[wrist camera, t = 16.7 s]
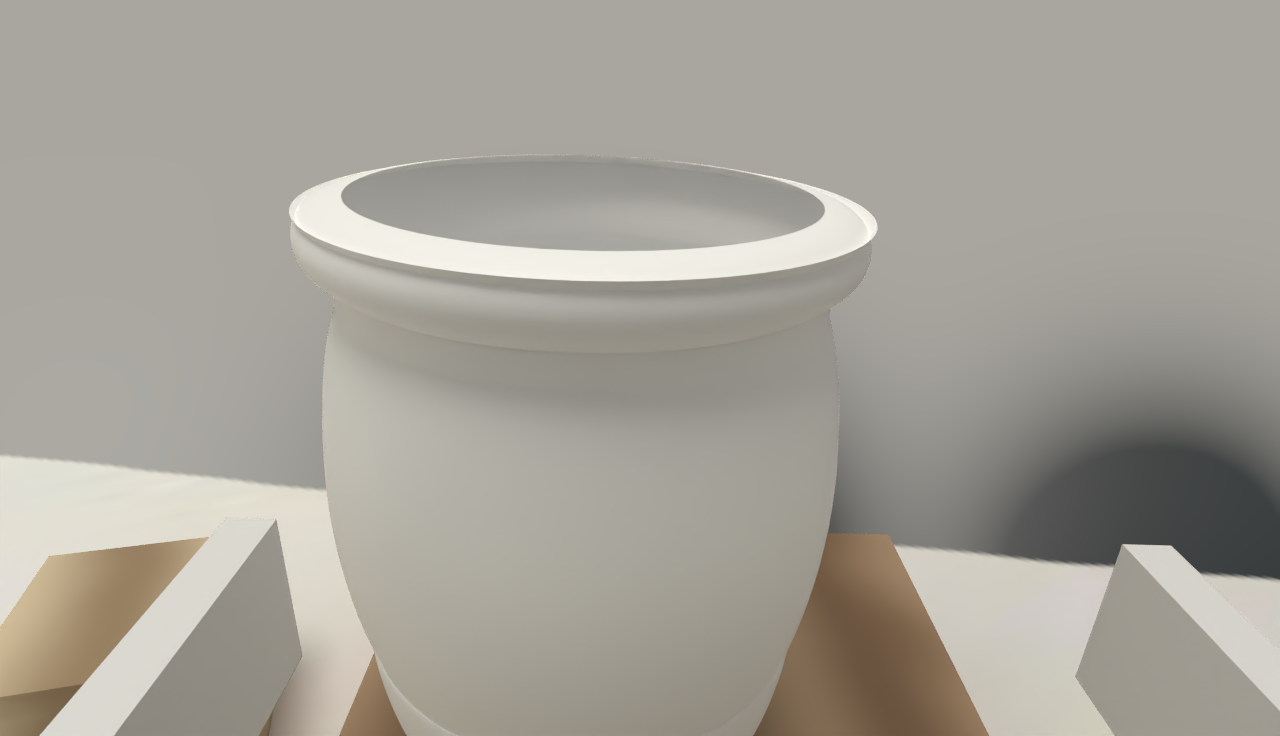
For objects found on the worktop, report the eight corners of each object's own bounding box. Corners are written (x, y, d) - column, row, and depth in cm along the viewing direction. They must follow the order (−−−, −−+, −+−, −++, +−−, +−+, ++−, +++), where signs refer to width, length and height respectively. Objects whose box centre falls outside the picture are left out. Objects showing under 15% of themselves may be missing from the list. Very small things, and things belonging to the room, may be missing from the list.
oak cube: (282, 665, 28) (255, 531, 26) (252, 814, 23) (214, 663, 20) (97, 695, 26) (48, 556, 24) (18, 862, 21) (-54, 705, 19)
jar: (829, 699, 22) (925, 183, 16) (679, 1095, 14) (762, 327, 8) (532, 578, 27) (520, 137, 21) (281, 822, 18) (136, 198, 12)
